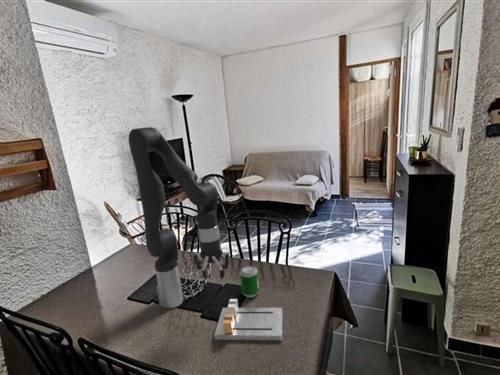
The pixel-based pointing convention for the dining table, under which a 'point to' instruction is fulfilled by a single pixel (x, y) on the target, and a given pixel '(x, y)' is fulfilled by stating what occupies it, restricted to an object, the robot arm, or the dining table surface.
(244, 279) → the soda can
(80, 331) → the dining table surface
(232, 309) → the fader cap cream
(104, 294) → the dining table surface
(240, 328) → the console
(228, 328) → the fader cap orange
